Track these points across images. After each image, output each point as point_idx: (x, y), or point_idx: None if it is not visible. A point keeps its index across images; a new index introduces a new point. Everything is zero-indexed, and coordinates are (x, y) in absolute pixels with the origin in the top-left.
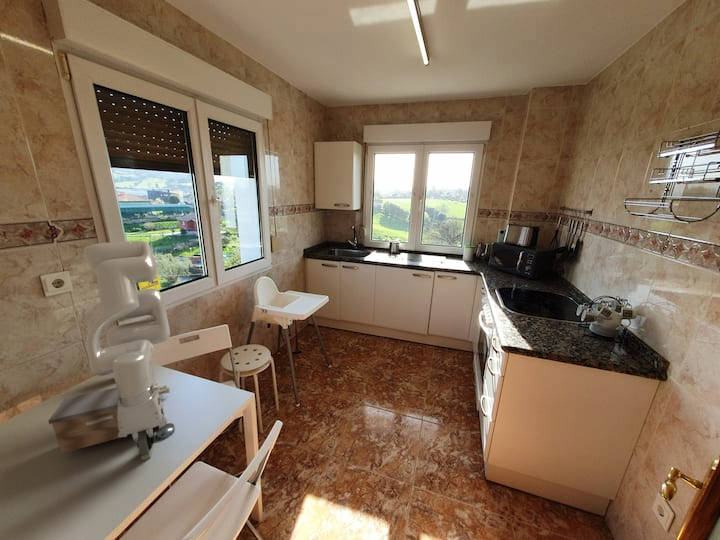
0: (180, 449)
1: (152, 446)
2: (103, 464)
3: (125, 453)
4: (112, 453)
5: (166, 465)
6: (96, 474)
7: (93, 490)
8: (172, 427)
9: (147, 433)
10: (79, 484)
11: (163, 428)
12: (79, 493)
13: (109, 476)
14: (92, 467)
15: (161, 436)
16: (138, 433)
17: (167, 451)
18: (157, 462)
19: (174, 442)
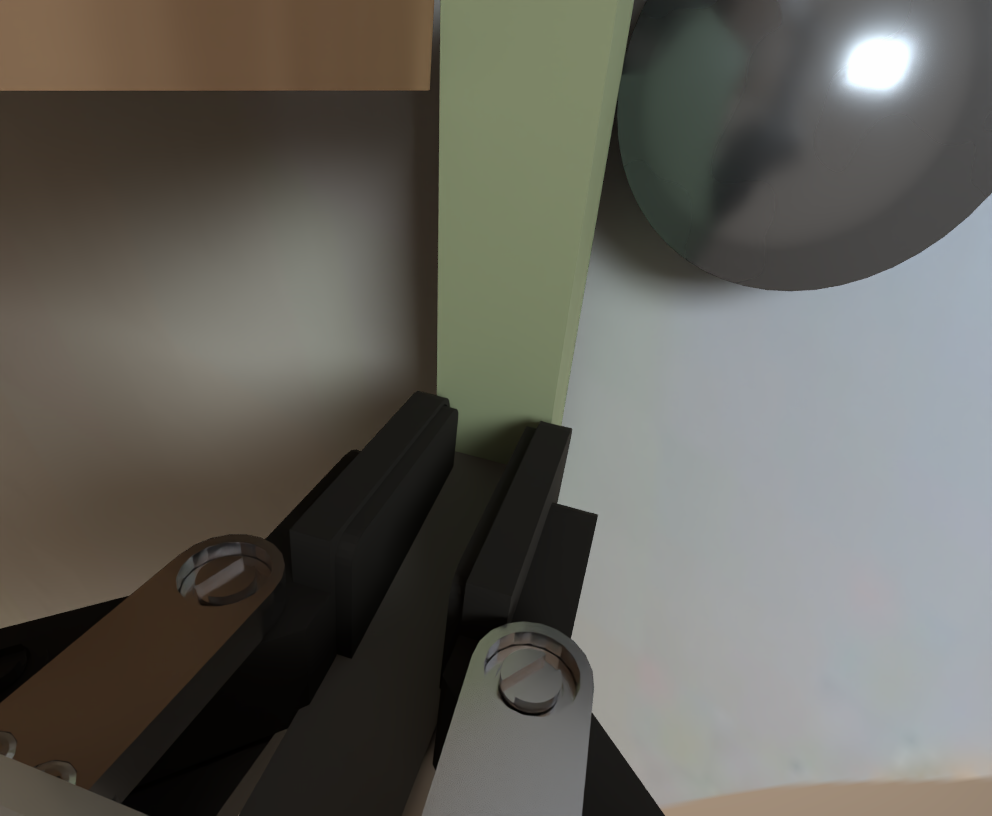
0: (903, 625)
1: (561, 412)
2: (87, 292)
3: (251, 250)
4: (96, 145)
5: (697, 714)
6: (90, 396)
7: (154, 554)
8: (988, 133)
9: (454, 181)
10: (16, 424)
11: (786, 43)
12: (70, 516)
13: (212, 495)
14: (2, 269)
15: (708, 264)
16: (220, 693)
17: (740, 550)
18: (614, 624)
19: (871, 452)
